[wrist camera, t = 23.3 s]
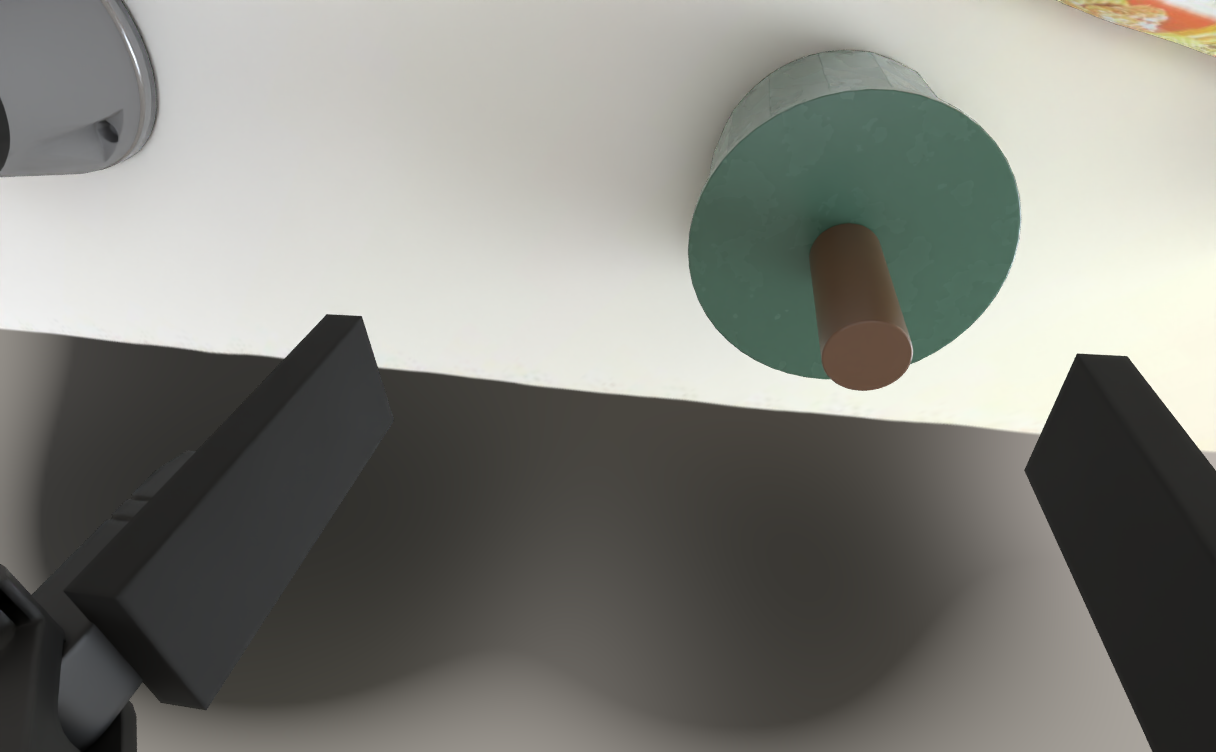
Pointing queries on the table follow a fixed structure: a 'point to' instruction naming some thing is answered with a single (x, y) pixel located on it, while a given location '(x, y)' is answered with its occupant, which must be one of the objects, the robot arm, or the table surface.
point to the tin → (814, 87)
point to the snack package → (1160, 19)
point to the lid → (854, 234)
